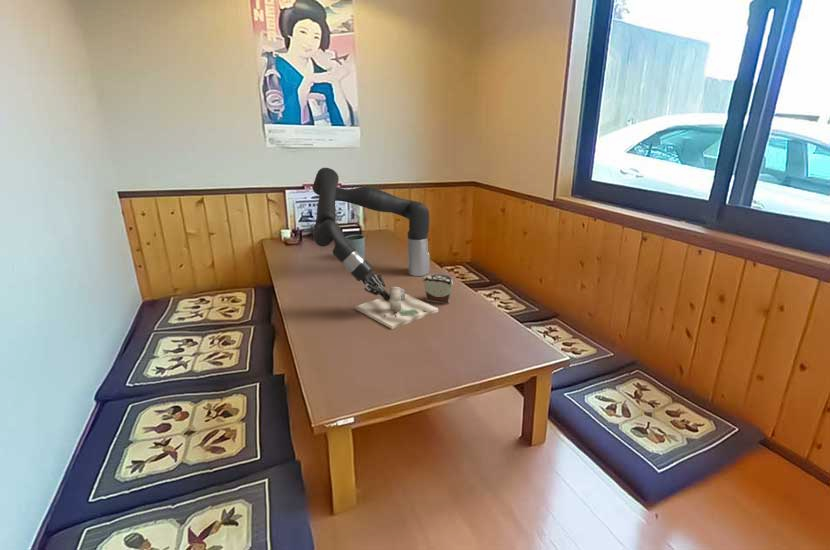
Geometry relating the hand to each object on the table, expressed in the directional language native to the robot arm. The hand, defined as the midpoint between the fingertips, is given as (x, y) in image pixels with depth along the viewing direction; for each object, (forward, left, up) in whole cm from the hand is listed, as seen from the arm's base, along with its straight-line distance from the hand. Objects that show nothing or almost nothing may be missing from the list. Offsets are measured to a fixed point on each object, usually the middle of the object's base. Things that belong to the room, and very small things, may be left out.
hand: (389, 299), depth 165 cm
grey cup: (-27, -64, -5) cm, 70 cm away
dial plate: (-3, 0, -5) cm, 6 cm away
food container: (-23, +4, -5) cm, 23 cm away
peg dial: (-4, -1, -4) cm, 6 cm away
